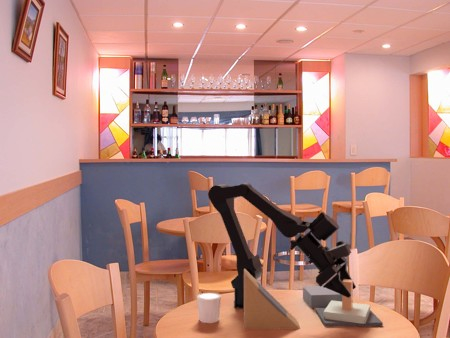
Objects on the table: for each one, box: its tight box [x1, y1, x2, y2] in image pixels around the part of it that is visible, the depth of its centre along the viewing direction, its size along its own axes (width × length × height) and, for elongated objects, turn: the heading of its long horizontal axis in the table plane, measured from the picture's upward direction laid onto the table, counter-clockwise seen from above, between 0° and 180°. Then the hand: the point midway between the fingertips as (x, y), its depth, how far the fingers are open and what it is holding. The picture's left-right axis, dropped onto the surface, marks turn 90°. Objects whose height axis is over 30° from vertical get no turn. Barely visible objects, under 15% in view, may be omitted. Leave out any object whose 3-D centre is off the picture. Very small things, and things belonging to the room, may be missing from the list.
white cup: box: [196, 292, 222, 324], centre depth 140 cm, size 7×7×7 cm
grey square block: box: [302, 285, 342, 309], centre depth 156 cm, size 10×10×4 cm
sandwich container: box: [243, 269, 301, 330], centre depth 136 cm, size 9×15×15 cm, turn 90°
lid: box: [324, 279, 371, 324], centre depth 141 cm, size 11×11×10 cm
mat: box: [314, 308, 384, 328], centre depth 141 cm, size 16×13×1 cm
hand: (352, 292), depth 140 cm, fingers open, 9 cm apart
